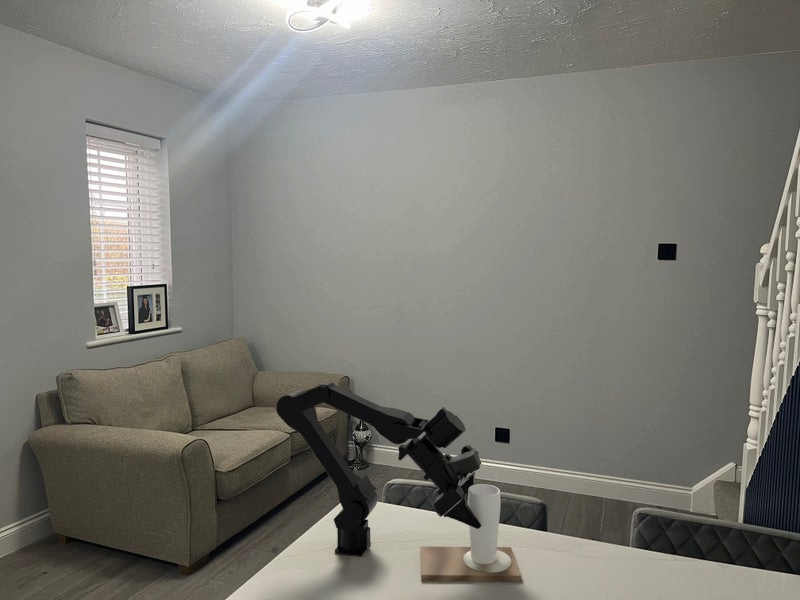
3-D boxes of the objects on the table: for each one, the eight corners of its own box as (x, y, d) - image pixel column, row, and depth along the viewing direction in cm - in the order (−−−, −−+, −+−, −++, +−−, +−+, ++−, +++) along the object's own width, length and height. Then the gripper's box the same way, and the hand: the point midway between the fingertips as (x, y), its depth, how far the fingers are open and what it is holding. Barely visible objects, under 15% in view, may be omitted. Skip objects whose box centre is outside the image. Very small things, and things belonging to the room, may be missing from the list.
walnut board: (421, 580, 119) (421, 574, 119) (420, 551, 131) (420, 545, 131) (521, 581, 119) (521, 574, 119) (511, 552, 131) (511, 546, 131)
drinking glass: (492, 570, 120) (492, 498, 119) (461, 562, 124) (462, 491, 123) (504, 556, 126) (505, 487, 125) (475, 548, 130) (475, 481, 129)
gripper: (450, 450, 116) (506, 512, 114) (465, 425, 134) (514, 478, 132) (411, 486, 119) (465, 547, 116) (430, 456, 137) (478, 509, 134)
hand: (482, 517), depth 125 cm, fingers open, 9 cm apart
